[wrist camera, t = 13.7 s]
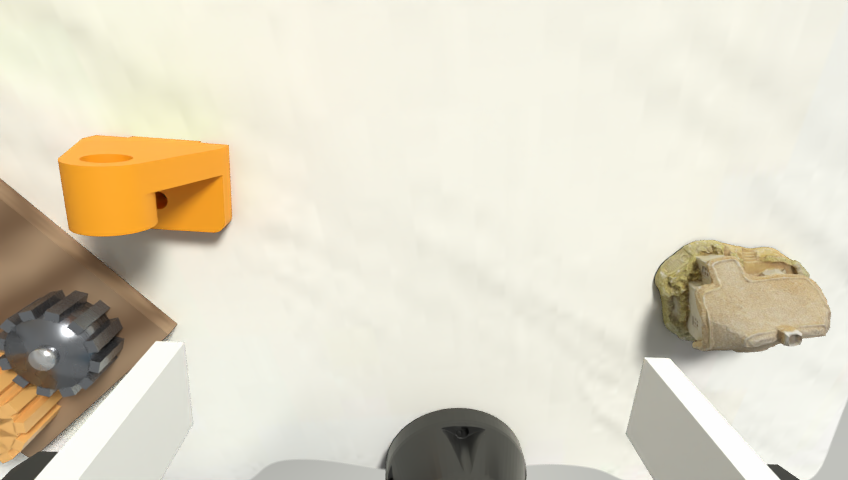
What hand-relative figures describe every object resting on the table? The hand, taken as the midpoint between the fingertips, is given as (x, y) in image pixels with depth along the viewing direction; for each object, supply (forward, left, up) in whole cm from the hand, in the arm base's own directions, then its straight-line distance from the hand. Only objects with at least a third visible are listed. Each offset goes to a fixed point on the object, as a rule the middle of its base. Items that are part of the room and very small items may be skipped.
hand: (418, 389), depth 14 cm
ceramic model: (-30, -16, -32) cm, 46 cm away
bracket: (+13, +16, -32) cm, 38 cm away
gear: (+9, +32, -30) cm, 45 cm away
